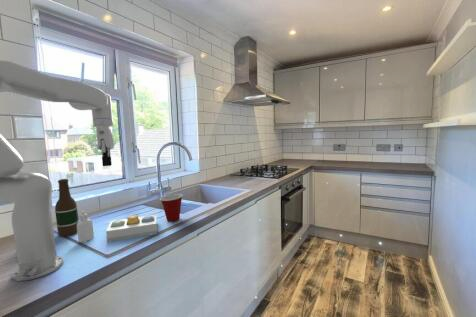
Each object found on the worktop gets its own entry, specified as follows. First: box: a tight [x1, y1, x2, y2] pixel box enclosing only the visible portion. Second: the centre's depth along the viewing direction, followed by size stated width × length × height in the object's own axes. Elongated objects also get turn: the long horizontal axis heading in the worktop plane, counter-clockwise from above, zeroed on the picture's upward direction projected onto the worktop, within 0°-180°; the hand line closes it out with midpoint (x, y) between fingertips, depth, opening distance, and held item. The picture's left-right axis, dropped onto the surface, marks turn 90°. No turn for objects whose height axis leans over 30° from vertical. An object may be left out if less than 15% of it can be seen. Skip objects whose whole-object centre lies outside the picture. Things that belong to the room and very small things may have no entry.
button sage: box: [112, 219, 124, 227], centre depth 102 cm, size 4×4×4 cm
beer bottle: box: [54, 178, 80, 238], centre depth 104 cm, size 8×8×24 cm
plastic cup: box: [159, 193, 183, 223], centre depth 116 cm, size 11×11×12 cm
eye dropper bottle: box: [76, 210, 95, 243], centre depth 97 cm, size 4×6×12 cm
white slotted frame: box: [105, 214, 158, 243], centre depth 104 cm, size 12×19×4 cm, turn 110°
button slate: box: [142, 215, 153, 223], centre depth 106 cm, size 4×4×4 cm
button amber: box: [126, 214, 139, 225], centre depth 103 cm, size 4×4×4 cm
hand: (107, 165), depth 104 cm, fingers closed
